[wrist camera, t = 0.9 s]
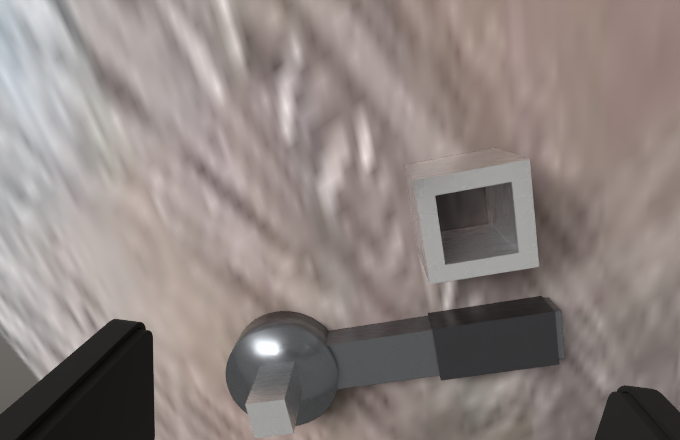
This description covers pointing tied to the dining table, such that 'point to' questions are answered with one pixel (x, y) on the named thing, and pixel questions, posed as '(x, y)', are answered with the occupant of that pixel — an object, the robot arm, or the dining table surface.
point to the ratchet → (380, 355)
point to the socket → (479, 240)
